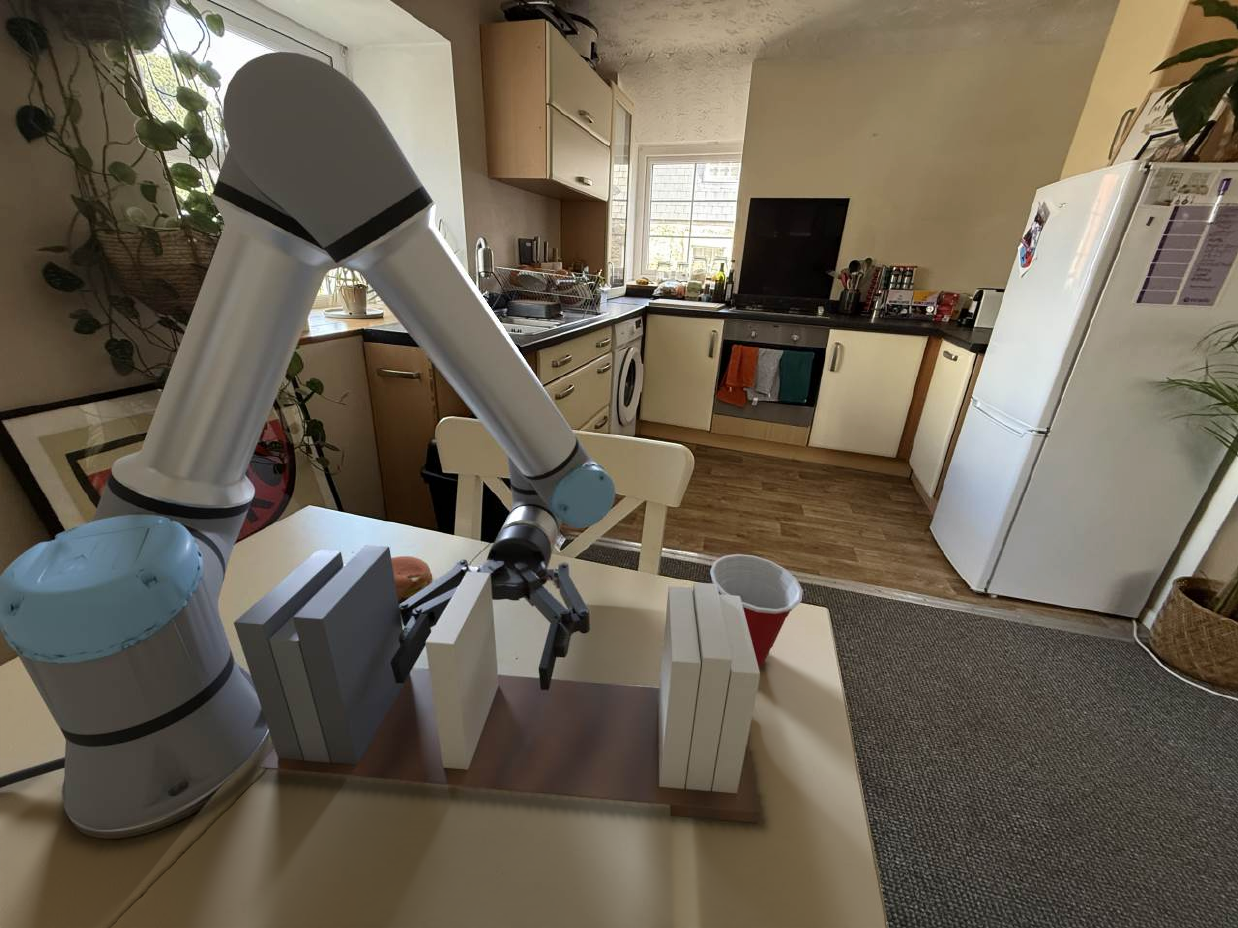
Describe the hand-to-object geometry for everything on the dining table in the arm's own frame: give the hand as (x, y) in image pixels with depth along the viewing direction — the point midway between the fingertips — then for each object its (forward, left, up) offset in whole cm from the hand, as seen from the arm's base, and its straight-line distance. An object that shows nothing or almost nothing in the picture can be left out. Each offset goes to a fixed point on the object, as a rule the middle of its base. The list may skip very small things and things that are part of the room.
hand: (469, 677), depth 46 cm
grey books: (-14, +2, -8) cm, 16 cm away
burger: (-19, +23, -10) cm, 31 cm away
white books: (+22, +2, -8) cm, 23 cm away
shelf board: (+4, +2, -10) cm, 11 cm away
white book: (-1, +2, -8) cm, 9 cm away
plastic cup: (+29, +16, -10) cm, 35 cm away
